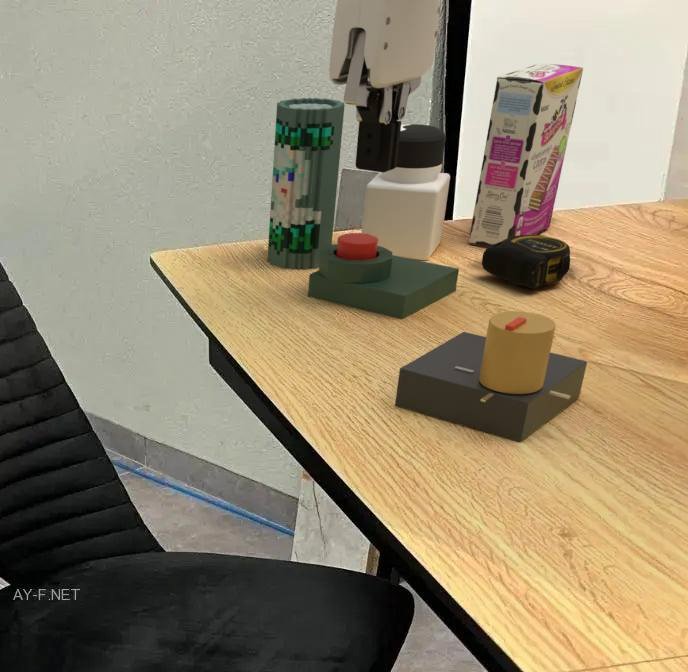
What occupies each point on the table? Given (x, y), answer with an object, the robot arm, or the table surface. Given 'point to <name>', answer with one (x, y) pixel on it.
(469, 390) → the plate
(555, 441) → the table surface
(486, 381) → the lock knob
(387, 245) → the medicine bottle
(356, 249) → the button
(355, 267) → the button block
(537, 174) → the candy bar box
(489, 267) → the tape measure
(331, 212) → the can
